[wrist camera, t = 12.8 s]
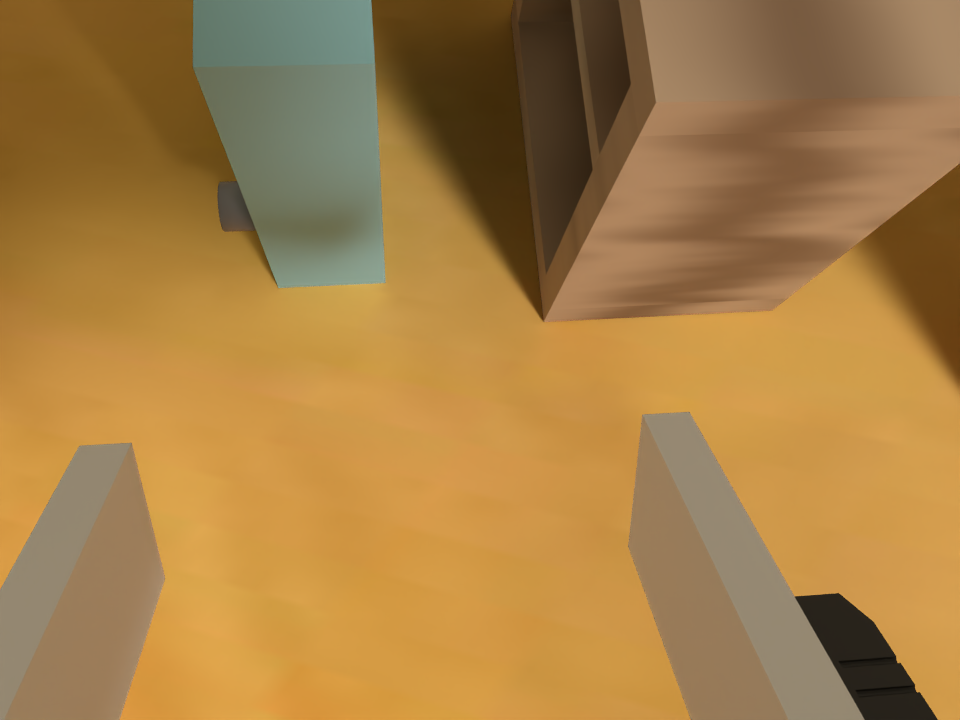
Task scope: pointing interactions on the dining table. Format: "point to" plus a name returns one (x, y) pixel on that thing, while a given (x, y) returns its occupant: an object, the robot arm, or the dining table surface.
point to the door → (297, 132)
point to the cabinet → (724, 142)
